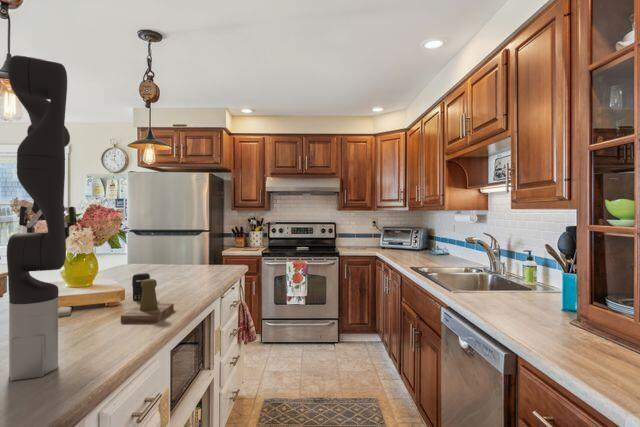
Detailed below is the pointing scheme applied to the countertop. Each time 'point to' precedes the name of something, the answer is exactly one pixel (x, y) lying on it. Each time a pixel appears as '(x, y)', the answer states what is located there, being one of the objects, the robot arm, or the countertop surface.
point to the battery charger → (138, 284)
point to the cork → (148, 295)
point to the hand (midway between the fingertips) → (48, 239)
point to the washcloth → (64, 311)
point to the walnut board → (146, 314)
